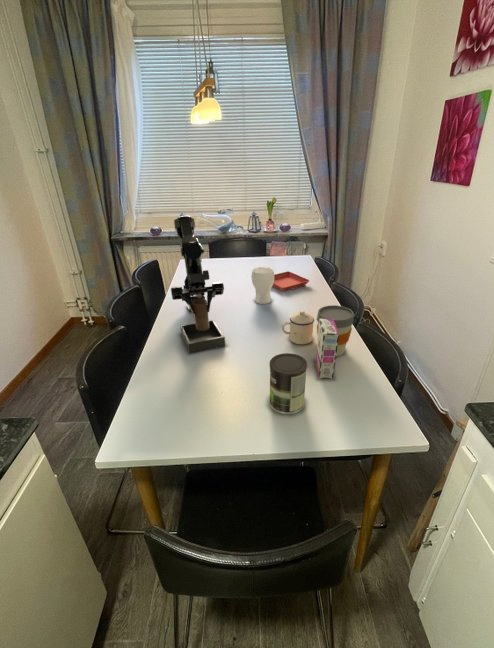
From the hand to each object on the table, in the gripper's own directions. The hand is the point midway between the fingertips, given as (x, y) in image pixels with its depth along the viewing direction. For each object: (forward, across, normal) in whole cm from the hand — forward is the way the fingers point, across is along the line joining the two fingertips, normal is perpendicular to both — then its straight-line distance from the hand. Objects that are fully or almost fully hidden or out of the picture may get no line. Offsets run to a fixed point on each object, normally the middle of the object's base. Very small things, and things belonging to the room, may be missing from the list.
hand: (201, 312), depth 125 cm
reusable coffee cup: (+21, +44, -2) cm, 49 cm away
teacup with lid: (+14, +35, +6) cm, 38 cm away
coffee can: (+38, +19, -20) cm, 47 cm away
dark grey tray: (+7, 0, +12) cm, 14 cm away
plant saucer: (-26, +49, +46) cm, 73 cm away
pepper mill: (+4, 0, +6) cm, 7 cm away
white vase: (-14, +32, +34) cm, 49 cm away
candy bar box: (+29, +37, -10) cm, 48 cm away
